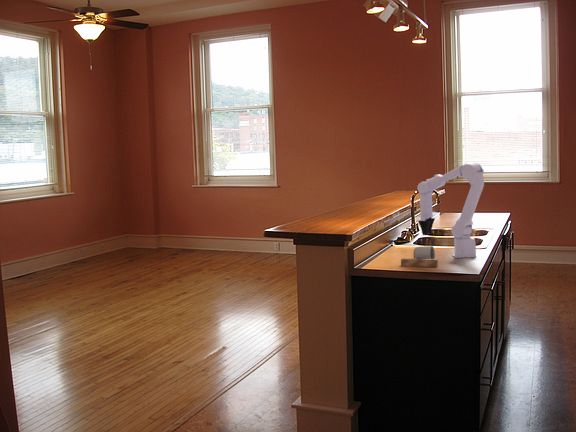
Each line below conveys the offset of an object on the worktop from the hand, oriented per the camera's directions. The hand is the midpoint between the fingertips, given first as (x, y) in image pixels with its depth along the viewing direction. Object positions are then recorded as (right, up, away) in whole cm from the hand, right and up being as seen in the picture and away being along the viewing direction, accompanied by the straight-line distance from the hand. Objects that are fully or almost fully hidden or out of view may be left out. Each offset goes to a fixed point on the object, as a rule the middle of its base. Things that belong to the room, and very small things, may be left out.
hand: (426, 234), depth 317 cm
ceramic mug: (-6, -13, -23) cm, 27 cm away
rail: (-10, -13, -30) cm, 34 cm away
